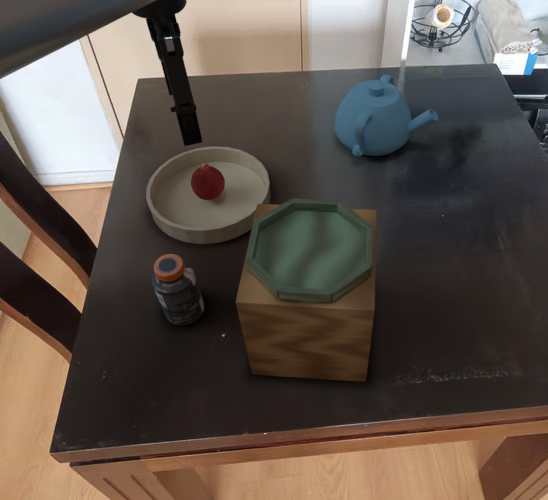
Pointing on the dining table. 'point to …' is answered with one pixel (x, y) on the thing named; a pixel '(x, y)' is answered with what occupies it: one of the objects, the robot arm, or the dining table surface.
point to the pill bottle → (177, 290)
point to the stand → (309, 290)
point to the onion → (207, 182)
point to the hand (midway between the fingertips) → (185, 116)
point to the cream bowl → (208, 213)
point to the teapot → (377, 118)
